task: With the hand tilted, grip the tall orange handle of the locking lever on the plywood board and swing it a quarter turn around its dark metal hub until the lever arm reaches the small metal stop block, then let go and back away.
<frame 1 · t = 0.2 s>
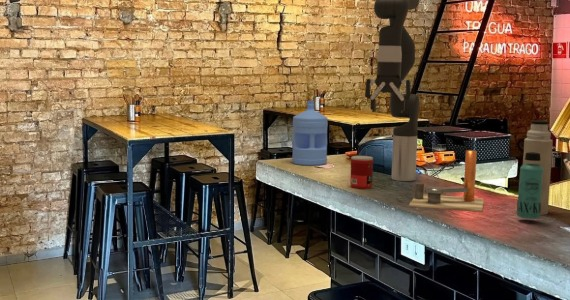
hand: (387, 112, 206), 29 cm above the counter, tool pointing down, fingers open, 8 cm apart
hub board: (433, 204, 208), on the counter
canned food: (361, 187, 236), on the counter
lever: (450, 176, 208), point 9 cm above the counter, hinge at 0.0°
beverage bottle: (528, 222, 186), on the counter
water jug: (309, 163, 291), on the counter
thermos bottle: (533, 212, 198), on the counter
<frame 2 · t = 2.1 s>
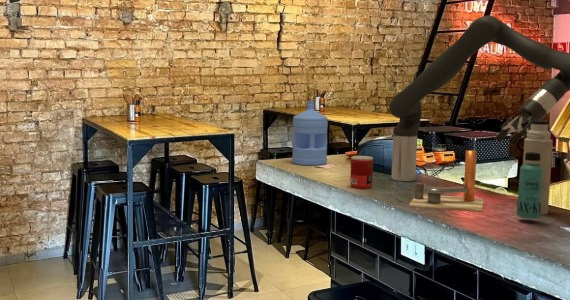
hand: (503, 141, 209), 20 cm above the counter, tool tilted 45°, fingers open, 8 cm apart
nothing on the counter moved.
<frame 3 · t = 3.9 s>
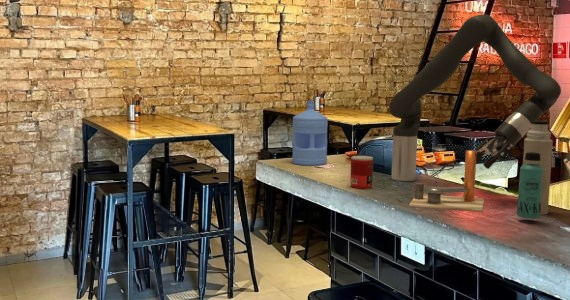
hand: (478, 164, 209), 12 cm above the counter, tool tilted 45°, fingers open, 8 cm apart
nothing on the counter moved.
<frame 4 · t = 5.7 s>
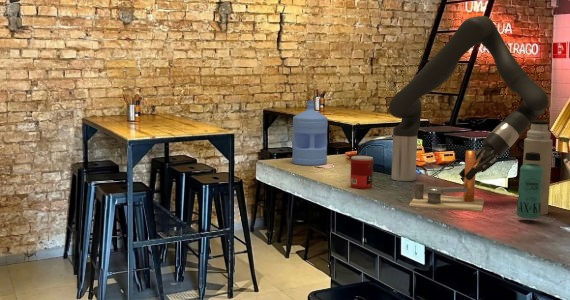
hand: (464, 177, 209), 9 cm above the counter, tool tilted 45°, fingers closed on lever, 3 cm apart
lever: (450, 176, 208), point 9 cm above the counter, hinge at 0.1°, touching gripper
everything else where it was.
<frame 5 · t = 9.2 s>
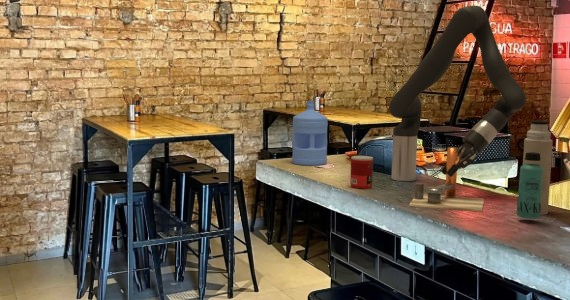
hand: (445, 173, 215), 8 cm above the counter, tool tilted 45°, fingers closed on lever, 3 cm apart
lever: (442, 174, 211), point 9 cm above the counter, hinge at 39.5°, touching gripper
everything else where it was.
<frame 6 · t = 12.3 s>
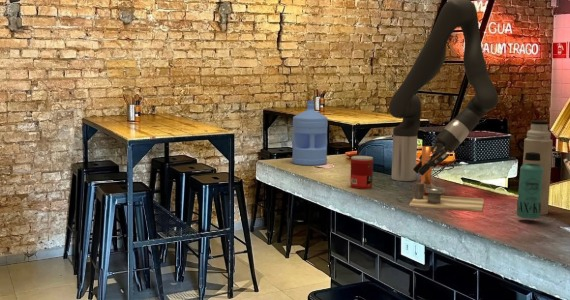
hand: (417, 172, 218), 8 cm above the counter, tool tilted 45°, fingers closed on lever, 3 cm apart
lever: (431, 173, 212), point 9 cm above the counter, hinge at 79.4°, touching gripper
everything else where it was.
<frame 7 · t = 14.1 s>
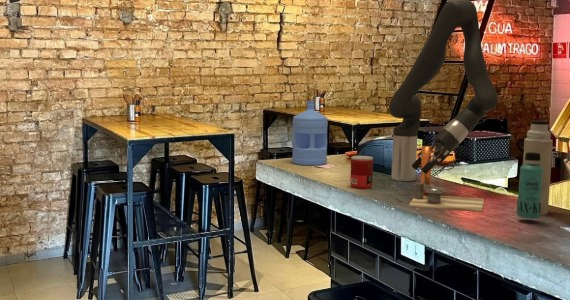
hand: (418, 169, 218), 9 cm above the counter, tool tilted 45°, fingers open, 8 cm apart
lever: (430, 173, 212), point 9 cm above the counter, hinge at 80.2°
everything else where it was.
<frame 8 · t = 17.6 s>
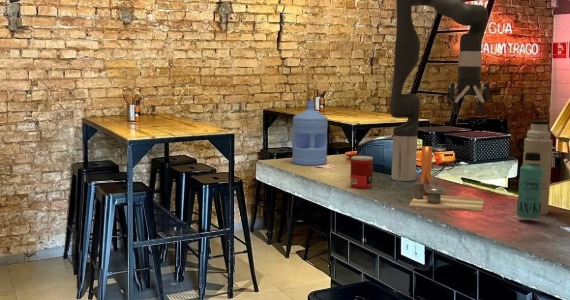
hand: (467, 113, 219), 28 cm above the counter, tool pointing down, fingers open, 8 cm apart
nothing on the counter moved.
at the end: lever at +80° (first picture: +0°); the gripper is holding nothing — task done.
